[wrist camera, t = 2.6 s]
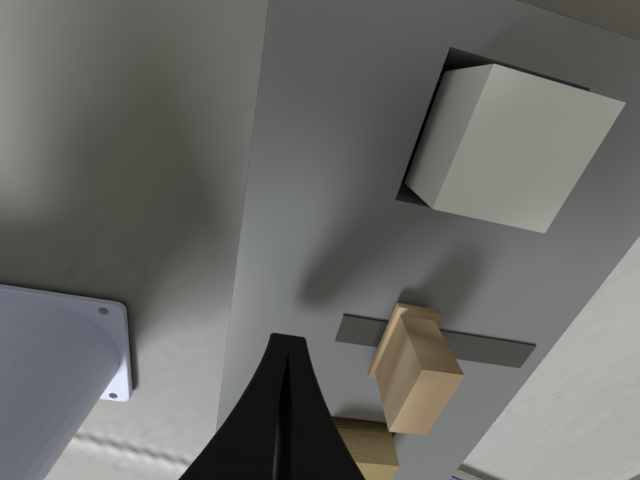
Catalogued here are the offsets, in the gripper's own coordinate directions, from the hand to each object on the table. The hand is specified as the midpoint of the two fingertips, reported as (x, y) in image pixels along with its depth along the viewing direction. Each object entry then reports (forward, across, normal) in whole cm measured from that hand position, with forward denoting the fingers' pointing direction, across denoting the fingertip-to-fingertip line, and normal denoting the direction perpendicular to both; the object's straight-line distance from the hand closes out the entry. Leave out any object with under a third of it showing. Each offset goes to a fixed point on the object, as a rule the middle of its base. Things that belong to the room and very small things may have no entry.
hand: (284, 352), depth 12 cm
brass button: (+3, -5, +9) cm, 11 cm away
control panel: (+5, -5, 0) cm, 7 cm away
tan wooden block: (+2, -5, 0) cm, 6 cm away
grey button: (+3, -5, -9) cm, 11 cm away
